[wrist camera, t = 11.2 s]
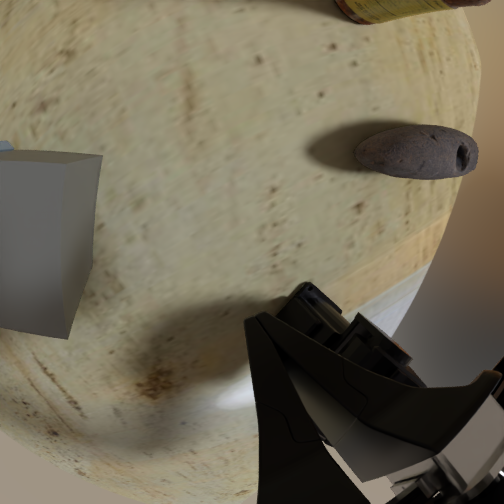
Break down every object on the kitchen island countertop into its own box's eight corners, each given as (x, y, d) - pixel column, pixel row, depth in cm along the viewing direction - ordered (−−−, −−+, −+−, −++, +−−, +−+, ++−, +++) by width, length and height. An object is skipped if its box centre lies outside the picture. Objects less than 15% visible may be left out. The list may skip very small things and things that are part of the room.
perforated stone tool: (339, 179, 23) (399, 196, 17) (335, 119, 20) (398, 119, 14) (433, 168, 27) (481, 181, 21) (432, 125, 24) (482, 132, 18)
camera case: (102, 155, 16) (66, 163, 8) (92, 266, 18) (67, 339, 11) (17, 149, 13) (-53, 161, 5) (14, 256, 15) (-37, 317, 8)
